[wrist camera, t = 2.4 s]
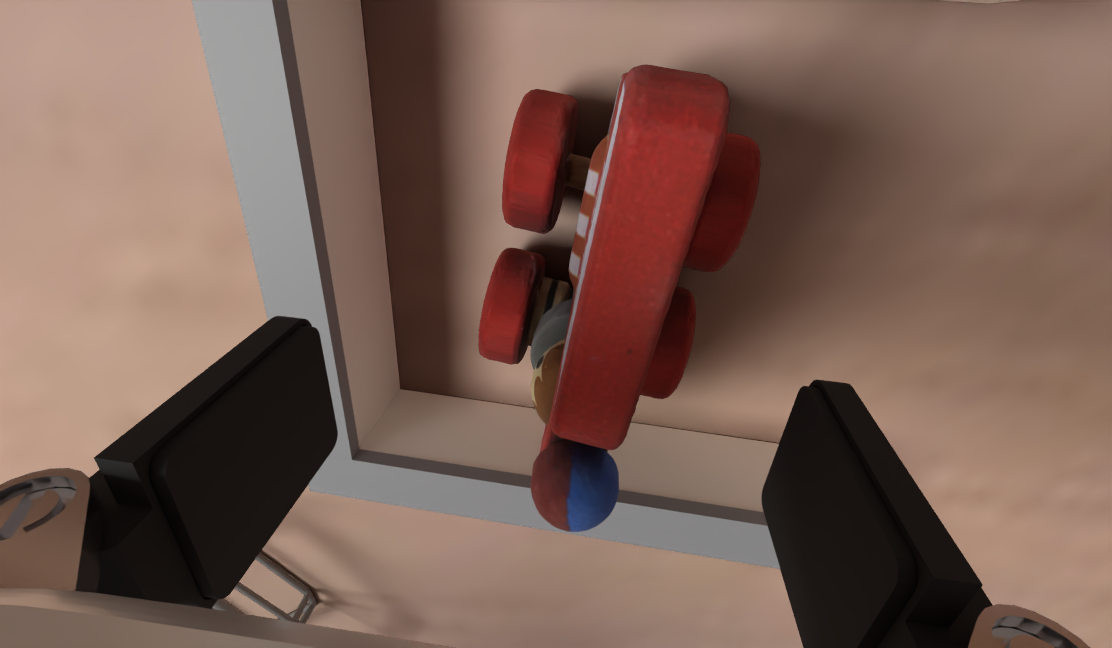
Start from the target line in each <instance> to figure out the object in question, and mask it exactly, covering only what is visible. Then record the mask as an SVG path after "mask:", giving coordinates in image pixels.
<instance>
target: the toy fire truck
mask: <svg viewBox="0 0 1112 648" xmlns="http://www.w3.org/2000/svg"><path fill="white" fill-rule="evenodd" d="M729 110H730V100H729V94H728V89H727V87H726V86H725V85H724V84H723V83H722V82H721V81H718V80H717V79H715V78H713V77H711V76H709V75H706V74H700V73H694V72H687V71H681V70H675V69H669V68H664V67H658V66H653V65H640V66H637V67H634V68H632V69H631V70H630V71H629V72H628V73H625V74H623V76H622V78H621V80H620V83H619V87H618V91H617V96H616V101H615V105H614V109H613V114H612V118H611V122H610V126H609V130H608V135H607V136H606V137H605V138H604V139H603V140H602V141H601V142H600V143H599V144H598V146H597V147H596V149H595V151H594V153H593V155H592V158H591V159H590V158H587V157H583V156H578V155H574V154H573V149H574V143H575V136H576V129H577V122H578V104H577V101H576V99H574V98H573V97H572V96H569V95H565V94H560V93H555V92H551V91H546V90H540V89H535V90H531V91H529V92H528V93H527V94H526V95H525V96H524V97H523V99H522V102H521V104H520V107H519V109H518V112H517V115H516V117H515V121H514V125H513V129H512V133H511V137H510V141H509V146H508V151H507V156H506V162H505V170H504V179H503V193H502V209H503V215H504V219H505V221H506V223H508V224H509V225H511V226H513V227H515V228H520V229H525V230H529V231H534V232H537V233H542V234H545V233H548V232H549V231H551V230H552V229H553V227H554V226H555V223H556V221H557V218H558V215H559V212H560V209H561V205H562V201H563V197H564V193H565V188H566V186H571V187H574V188H577V189H581V190H584V194H583V199H582V203H581V207H580V212H579V217H578V223H577V228H576V233H575V237H574V241H573V246H572V252H571V258H570V264H569V276H570V279H571V282H572V284H573V287H574V289H571V288H570V287H569V284H568V283H567V282H564V281H559V280H553V279H551V278H547V277H545V276H544V274H545V260H544V258H543V257H542V256H541V255H540V254H538V253H533V252H529V251H525V250H521V249H517V248H507V249H505V250H504V251H503V252H502V253H501V255H500V256H499V258H498V260H497V262H496V264H495V267H494V269H493V272H492V275H491V279H490V282H489V285H488V288H487V292H486V296H485V299H484V304H483V309H482V315H481V320H480V327H479V352H480V354H481V355H482V356H483V357H485V358H487V359H489V360H494V361H499V362H503V363H507V364H518V363H520V361H521V360H522V359H523V357H524V355H525V352H526V350H527V347H528V345H529V346H531V363H532V366H533V369H534V372H533V377H532V383H531V394H532V400H533V404H534V406H535V409H536V411H537V413H538V415H539V417H540V418H541V420H542V421H543V422H544V423H545V426H544V432H543V438H542V441H541V448H540V453H539V455H538V456H537V458H536V460H535V461H534V464H533V469H532V478H531V494H532V498H533V501H534V504H535V506H536V509H537V510H538V512H539V514H540V515H541V516H542V517H543V518H544V519H545V520H546V521H547V522H548V523H550V524H551V525H552V526H554V527H556V528H558V529H561V530H564V531H568V532H581V531H586V530H589V529H592V528H594V527H596V526H598V525H599V524H600V523H602V522H603V521H604V520H605V519H606V518H607V517H608V516H609V515H610V514H611V512H612V511H613V509H614V507H615V504H616V502H617V498H618V493H619V473H618V468H617V465H616V463H615V461H614V459H613V457H612V456H611V455H610V454H609V453H608V450H615V449H617V448H618V447H619V446H620V445H621V444H622V443H623V441H624V440H625V438H626V436H627V432H628V429H629V426H630V423H631V419H632V416H633V414H634V412H635V409H636V405H637V402H638V400H639V396H640V395H643V396H650V397H653V398H658V399H664V398H667V397H669V396H670V395H671V394H672V393H673V392H674V391H675V389H676V388H677V386H678V384H679V382H680V380H681V378H682V376H683V373H684V370H685V367H686V364H687V361H688V358H689V355H690V351H691V347H692V343H693V337H694V330H695V319H696V307H695V301H694V297H693V295H692V293H691V292H690V291H689V290H687V289H685V288H681V287H676V285H677V283H678V280H679V276H680V273H681V269H682V267H688V268H691V269H694V270H700V271H704V272H715V271H718V270H719V269H720V268H722V267H723V266H724V265H725V264H726V263H727V262H728V261H729V259H730V258H731V257H732V256H733V254H734V252H735V250H736V249H737V248H738V246H739V244H740V242H741V239H742V237H743V235H744V232H745V230H746V227H747V224H748V221H749V219H750V216H751V213H752V210H753V206H754V202H755V198H756V195H757V190H758V184H759V176H760V165H761V162H760V150H759V146H758V144H756V143H755V142H754V141H753V140H752V139H751V138H749V137H747V136H742V135H737V134H732V133H728V132H727V128H728V121H729Z"/></svg>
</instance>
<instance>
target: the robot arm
mask: <svg viewBox="0 0 1112 648" xmlns="http://www.w3.org/2000/svg"><path fill="white" fill-rule="evenodd" d="M337 437H338V430H337V424H336V419H335V413H334V408H333V403H332V397H331V392H330V387H329V381H328V376H327V371H326V365H325V360H324V354H323V349H322V344H321V338H320V334H319V331H318V330H317V328H315V327H312V325H311V323H310V322H309V321H308V320H307V319H303V318H294V317H286V316H275V317H273V318H271V319H270V320H269V321H267V322H266V323H265V324H264V325H262V326H261V327H260V328H258V329H257V330H256V331H255V332H253V333H252V334H251V335H250V336H248V337H247V338H246V339H244V340H243V341H242V342H241V343H239V344H238V345H237V346H236V347H234V348H233V349H232V350H230V351H229V352H228V353H227V354H225V355H224V356H223V357H222V358H220V359H219V360H218V361H216V362H215V363H214V364H213V365H211V366H210V367H209V368H208V369H206V370H205V371H204V372H202V373H201V374H200V375H199V376H197V377H196V378H195V379H194V380H192V381H191V382H190V383H188V384H187V385H186V386H185V387H183V388H182V389H181V390H180V391H178V392H177V393H176V394H174V395H173V396H172V397H171V398H169V399H168V400H167V401H166V402H164V403H163V404H162V405H160V406H159V407H158V408H157V409H155V410H154V411H153V412H152V413H150V414H149V415H148V416H147V417H145V418H144V419H143V420H141V421H140V422H139V423H138V424H136V425H135V426H134V427H133V428H131V429H130V430H129V431H127V432H126V433H125V434H124V435H122V436H121V437H120V438H119V439H117V440H116V441H115V442H113V443H112V444H111V445H110V446H108V447H107V448H106V449H105V450H103V451H102V452H101V453H99V454H98V455H97V456H96V457H94V459H95V461H96V463H97V465H98V467H99V469H100V470H99V471H97V472H96V473H95V474H94V475H93V476H91V477H90V478H89V477H88V476H86V475H85V474H84V473H83V472H82V471H79V470H74V469H70V468H54V469H47V470H42V471H37V472H32V473H29V474H26V475H23V476H20V477H17V478H14V479H11V480H9V481H7V482H5V483H3V484H1V485H0V648H454V647H448V646H442V645H436V644H429V643H423V642H417V641H411V640H405V639H398V638H392V637H386V636H380V635H374V634H367V633H361V632H355V631H348V630H342V629H336V628H329V627H323V626H316V625H310V624H304V623H297V622H291V621H284V620H278V619H272V618H265V617H259V616H252V615H246V614H240V613H233V612H227V611H221V610H214V609H212V607H213V606H214V605H215V603H216V602H217V600H218V599H223V598H225V597H227V596H228V595H229V594H230V593H231V592H232V590H233V589H234V588H235V586H236V585H237V584H238V582H239V581H240V579H241V578H242V577H243V575H244V574H245V572H246V571H247V570H248V568H249V567H250V565H251V564H252V563H253V561H254V560H255V558H256V557H257V556H258V554H259V553H260V551H261V550H262V549H263V547H264V546H265V544H266V543H267V542H268V540H269V539H270V537H271V536H272V535H273V533H274V532H275V530H276V529H277V528H278V526H279V525H280V523H281V522H282V520H283V519H284V518H285V516H286V515H287V513H288V512H289V511H290V509H291V508H292V506H293V505H294V504H295V502H296V501H297V499H298V498H299V497H300V495H301V494H302V492H303V491H304V490H305V488H306V487H307V485H308V484H309V483H310V481H311V480H312V478H313V477H314V476H315V474H316V473H317V471H318V470H319V469H320V467H321V466H322V464H323V463H324V462H325V460H326V459H327V457H328V456H329V455H330V453H331V452H332V450H333V449H334V447H335V445H336V442H337ZM761 501H762V508H763V512H764V515H765V519H766V522H767V525H768V529H769V532H770V536H771V539H772V542H773V546H774V549H775V552H776V556H777V559H778V563H779V566H780V569H781V573H782V576H783V580H784V583H785V586H786V590H787V593H788V597H789V600H790V603H791V607H792V610H793V613H794V617H795V620H796V624H797V627H798V630H799V634H800V637H801V641H802V644H803V647H804V648H1090V647H1089V646H1088V645H1087V644H1086V643H1085V642H1083V641H1082V640H1081V639H1080V638H1079V637H1077V636H1076V635H1074V634H1073V633H1071V632H1070V631H1068V630H1067V629H1065V628H1064V627H1063V626H1061V625H1060V624H1058V623H1056V622H1054V621H1052V620H1050V619H1048V618H1046V617H1044V616H1042V615H1040V614H1038V613H1036V612H1034V611H1031V610H1028V609H1025V608H1021V607H1018V606H1015V605H1002V604H996V605H992V603H991V602H990V600H989V599H988V597H987V596H986V594H985V593H984V591H983V590H982V588H981V587H982V583H981V582H980V580H979V579H978V577H977V576H976V574H975V572H974V571H973V569H972V568H971V566H970V565H969V563H968V562H967V560H966V559H965V557H964V556H963V554H962V553H961V551H960V550H959V548H958V547H957V545H956V544H955V542H954V541H953V539H952V538H951V536H950V534H949V533H948V531H947V530H946V528H945V527H944V525H943V524H942V522H941V521H940V519H939V518H938V516H937V515H936V513H935V512H934V510H933V509H932V507H931V506H930V504H929V503H928V501H927V500H926V498H925V497H924V495H923V493H922V492H921V490H920V489H919V487H918V486H917V484H916V483H915V481H914V480H913V478H912V477H911V475H910V474H909V472H908V471H907V469H906V468H905V466H904V465H903V463H902V462H901V460H900V459H899V457H898V455H897V454H896V452H895V451H894V449H893V448H892V446H891V445H890V443H889V442H888V440H887V439H886V437H885V436H884V434H883V433H882V431H881V430H880V428H879V427H878V425H877V424H876V422H875V421H874V419H873V417H872V416H871V414H870V413H869V411H868V410H867V408H866V407H865V405H864V404H863V402H862V401H861V399H860V398H859V396H858V395H857V393H856V392H855V390H854V389H853V387H852V386H851V385H850V384H847V383H840V382H832V381H823V380H814V381H813V382H812V383H811V384H810V386H809V387H808V386H803V387H801V389H800V390H799V392H798V394H797V397H796V400H795V403H794V405H793V408H792V411H791V413H790V416H789V419H788V421H787V424H786V427H785V430H784V432H783V435H782V438H781V440H780V443H779V446H778V448H777V451H776V454H775V456H774V459H773V462H772V465H771V467H770V470H769V473H768V475H767V478H766V481H765V483H764V486H763V489H762V497H761Z"/></svg>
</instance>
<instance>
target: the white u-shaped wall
mask: <svg viewBox="0 0 1112 648" xmlns="http://www.w3.org/2000/svg"><path fill="white" fill-rule="evenodd" d="M942 1H957V2H973V3H988V4H992V3H1001V2H1010V1H1019V0H942ZM192 4H193V8H194V12H195V17H196V21H197V25H198V29H199V33H200V38H201V42H202V46H203V50H204V54H205V58H206V63H207V67H208V71H209V75H210V79H211V84H212V88H213V92H214V96H215V100H216V105H217V109H218V113H219V117H220V121H221V125H222V130H223V134H224V138H225V142H226V146H227V151H228V155H229V159H230V163H231V167H232V171H233V176H234V180H235V184H236V188H237V192H238V197H239V201H240V205H241V209H242V213H243V217H244V222H245V226H246V230H247V234H248V238H249V243H250V247H251V251H252V255H253V259H254V263H255V268H256V272H257V276H258V280H259V284H260V289H261V293H262V297H263V301H264V305H265V309H266V314H267V318H268V321H269V320H270V319H271V318H273V317H275V316H286V317H294V318H303V319H307V320H308V321H309V322H310V323H311V325H312V327H315V328H317V330H318V331H319V334H320V338H321V344H322V349H323V354H324V360H325V365H326V371H327V376H328V381H329V387H330V392H331V397H332V403H333V408H334V413H335V419H336V424H337V430H338V437H337V442H336V445H335V447H334V449H333V450H332V452H331V453H330V455H329V456H328V457H327V459H326V460H325V462H324V463H323V464H322V466H321V467H320V469H319V470H318V471H317V473H316V474H315V476H314V477H313V478H312V480H311V481H310V483H309V484H308V485H309V489H310V491H313V492H319V493H325V494H331V495H337V496H343V497H349V498H355V499H361V500H367V501H373V502H379V503H385V504H391V505H397V506H403V507H409V508H415V509H421V510H427V511H434V512H440V513H446V514H452V515H458V516H464V517H470V518H476V519H482V520H488V521H494V522H500V523H506V524H512V525H518V526H524V527H530V528H536V529H542V530H548V531H554V532H560V533H566V534H572V535H578V536H584V537H590V538H596V539H602V540H608V541H614V542H620V543H626V544H633V545H639V546H645V547H651V548H657V549H663V550H669V551H675V552H681V553H687V554H693V555H699V556H705V557H711V558H717V559H723V560H729V561H735V562H741V563H747V564H753V565H759V566H765V567H771V568H777V569H780V566H779V563H778V559H777V556H776V552H775V549H774V546H773V542H772V539H771V536H770V532H769V529H768V525H767V522H766V519H765V515H764V512H763V508H762V501H761V497H762V489H763V486H764V483H765V481H766V478H767V475H768V473H769V470H770V467H771V465H772V462H773V459H774V456H775V454H776V451H777V448H778V446H779V444H777V443H770V442H763V441H756V440H749V439H742V438H736V437H729V436H722V435H715V434H708V433H701V432H694V431H687V430H680V429H673V428H666V427H659V426H652V425H645V424H638V423H630V426H629V429H628V432H627V436H626V438H625V440H624V441H623V443H622V444H621V445H620V446H619V447H618V448H617V449H615V450H608V453H609V454H610V455H611V456H612V457H613V459H614V461H615V463H616V465H617V468H618V473H619V493H618V498H617V502H616V504H615V507H614V509H613V511H612V512H611V514H610V515H609V516H608V517H607V518H606V519H605V520H604V521H603V522H602V523H600V524H599V525H598V526H596V527H594V528H592V529H589V530H586V531H581V532H568V531H564V530H561V529H558V528H556V527H554V526H552V525H551V524H550V523H548V522H547V521H546V520H545V519H544V518H543V517H542V516H541V515H540V514H539V512H538V510H537V509H536V506H535V504H534V501H533V498H532V494H531V478H532V469H533V464H534V461H535V460H536V458H537V456H538V455H539V453H540V448H541V441H542V438H543V432H544V426H545V423H544V422H543V421H542V420H541V418H540V417H539V415H538V413H537V411H536V409H534V408H527V407H520V406H514V405H507V404H500V403H493V402H486V401H479V400H472V399H465V398H458V397H451V396H444V395H437V394H430V393H423V392H416V391H409V390H402V389H400V382H399V372H398V362H397V352H396V343H395V333H394V323H393V313H392V303H391V294H390V284H389V274H388V264H387V254H386V245H385V235H384V225H383V215H382V205H381V196H380V186H379V176H378V166H377V156H376V147H375V137H374V127H373V117H372V107H371V98H370V88H369V78H368V68H367V58H366V49H365V39H364V29H363V19H362V9H361V0H192Z"/></svg>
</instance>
